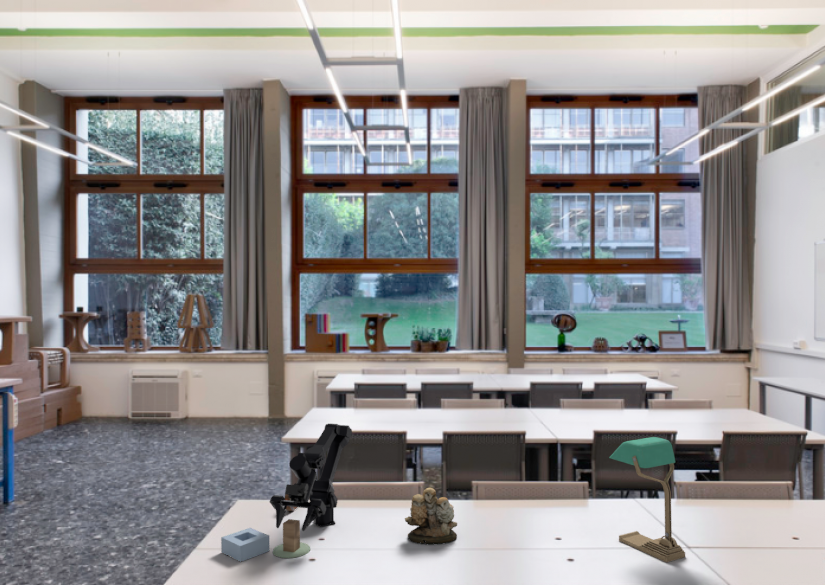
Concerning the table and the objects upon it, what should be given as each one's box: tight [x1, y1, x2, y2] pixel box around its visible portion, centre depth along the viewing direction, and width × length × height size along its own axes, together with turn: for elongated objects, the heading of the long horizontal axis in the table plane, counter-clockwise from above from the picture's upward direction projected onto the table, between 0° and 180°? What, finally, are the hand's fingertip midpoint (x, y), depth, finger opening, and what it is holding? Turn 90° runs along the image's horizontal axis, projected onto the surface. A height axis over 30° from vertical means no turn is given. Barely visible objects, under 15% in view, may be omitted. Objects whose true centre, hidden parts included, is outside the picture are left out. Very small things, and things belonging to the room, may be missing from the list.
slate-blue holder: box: [220, 527, 270, 563], centre depth 201 cm, size 11×11×5 cm
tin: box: [284, 493, 298, 512], centre depth 244 cm, size 15×3×8 cm, turn 168°
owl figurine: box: [404, 487, 458, 546], centre depth 211 cm, size 18×12×17 cm, turn 95°
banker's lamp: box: [609, 436, 686, 563], centre depth 201 cm, size 16×21×35 cm
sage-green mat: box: [272, 541, 311, 559], centre depth 202 cm, size 12×12×1 cm
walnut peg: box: [282, 518, 301, 552], centre depth 202 cm, size 4×4×9 cm
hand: (289, 529), depth 201 cm, fingers open, 9 cm apart
